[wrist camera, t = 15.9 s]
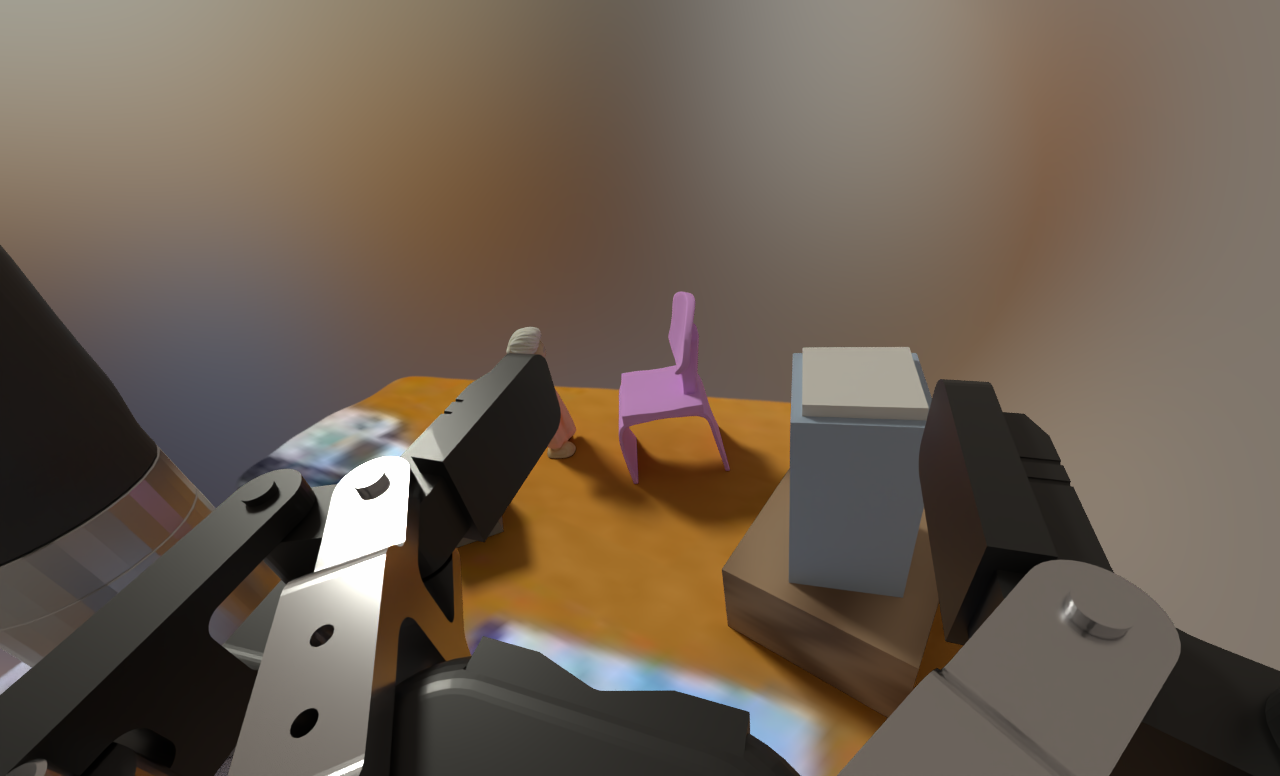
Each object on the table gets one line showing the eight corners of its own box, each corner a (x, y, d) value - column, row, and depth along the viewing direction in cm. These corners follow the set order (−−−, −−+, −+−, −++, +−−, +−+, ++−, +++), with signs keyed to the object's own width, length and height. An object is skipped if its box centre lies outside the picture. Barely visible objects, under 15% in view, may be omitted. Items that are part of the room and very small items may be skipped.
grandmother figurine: (590, 455, 47) (556, 337, 40) (552, 471, 46) (510, 353, 39) (565, 415, 53) (532, 307, 46) (531, 429, 52) (491, 320, 45)
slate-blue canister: (788, 582, 26) (790, 410, 20) (790, 505, 31) (793, 343, 24) (902, 597, 25) (944, 415, 18) (888, 513, 29) (918, 342, 23)
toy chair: (627, 432, 49) (595, 291, 40) (716, 419, 48) (702, 273, 40) (628, 494, 42) (590, 338, 34) (732, 479, 41) (719, 318, 33)
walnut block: (728, 628, 31) (721, 569, 28) (793, 519, 37) (794, 460, 34) (900, 727, 25) (918, 669, 22) (945, 580, 31) (964, 516, 28)
